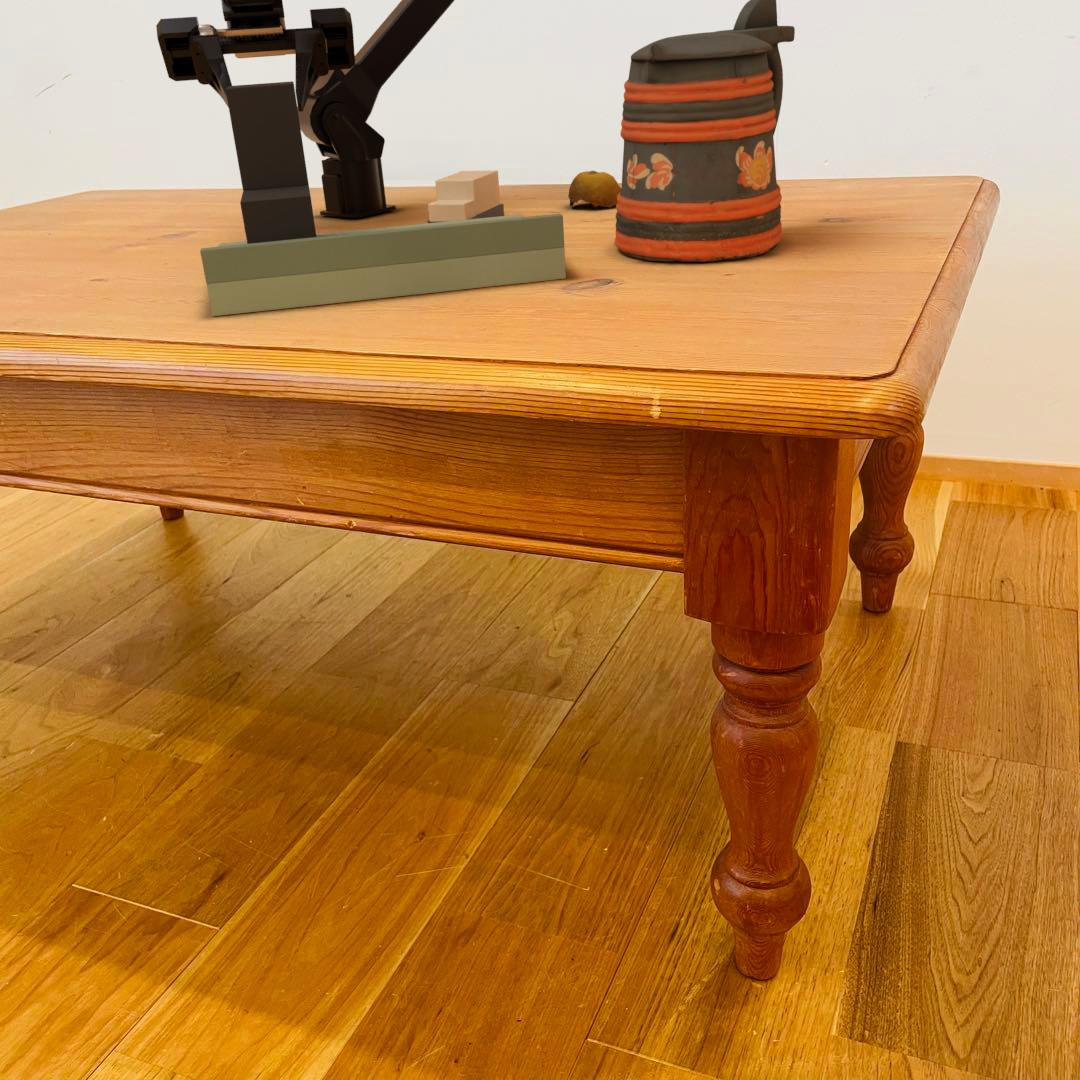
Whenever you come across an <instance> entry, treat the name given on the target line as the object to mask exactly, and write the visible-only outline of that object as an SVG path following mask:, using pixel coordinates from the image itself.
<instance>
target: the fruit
mask: <svg viewBox="0 0 1080 1080" xmlns="http://www.w3.org/2000/svg"><path fill="white" fill-rule="evenodd" d="M621 188H622V186H621V185H619V184H618V181H617V180H616V179H615V177H614V176H613V175H611V174H610V173H608V172H605V171H601V172H599V171H596V170H588V171H587V170H586V171H581V172H579V173H578V174H577V175H576V176H574V178H573V179H572V181H571V183H570V186H569V189H568V195H567V196H568V200H569V206H570V207H573V206H574V204H579V203H578V202H580V201H583V202H585V203H591V205H592V206H593V207H595V208H597V207H599V206H600V207H603V208H612V207H614V206H616V205H617V202H618V201H617V195H618V194H619V193H620V192H621Z"/></svg>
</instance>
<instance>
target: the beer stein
mask: <svg viewBox="0 0 1080 1080" xmlns="http://www.w3.org/2000/svg"><path fill="white" fill-rule="evenodd" d="M777 7H778V6H777V0H749V1H747V2H745V3H744V5H743V7H742V9H741V10H740V12H739V14H738V16H737V18H736V19H735V23H734V26H733V28H732V29H725V30H717V31H710V32H709V31H707V32H698V33H689V34H680V35H675V36H669V37H663V38H661V39H658V40H655V41H653V42H650V43H649V44H647V45H645V46H643V47H641V48H639V49H637V50H636V51H634V52H633V53H632V54H631V55H630V66H629V72H628V78H627V80H626V81H625V82H624V84H623V88H624V93H623V99H624V100H623V103H622V119H621V121H620V126H621V129H620V134H619V135H620V137H621V138H622V140H623V152H622V153H623V154H622V168H621V169H622V170H621V171H622V172H621V192H620V193H619V194H618V195H617V201H618V202H617V205H615V207H616V213H615V220H616V221H615V238H614V246H615V247H616V248H617V249H618V251H620V252H621V253H622V254H624V255H625V256H628V257H630V258H634V259H639V260H645V261H654V262H667V263H668V262H683V263H685V262H686V263H687V262H689V263H690V262H693V263H695V262H696V263H697V262H700V263H705V262H717V261H723V260H724V261H725V260H739V259H742V258H751V257H755V256H757V255H763V254H765V253H768V252H770V250H771V249H772V248H774V247H775V246H777V245H778V244H779V243H780V241H781V240H782V237H783V230H782V226H783V225H782V222H781V219H782V214H781V213H782V206H781V203H782V198H783V196H782V193H781V186H780V185H779V184H778V182H777V171H776V170H777V169H776V155H775V154H776V153H775V141H774V135H775V132H776V129H777V125H778V121H779V117H780V114H781V107H782V102H783V93H784V91H783V90H784V73H783V72H784V71H783V65H782V64H783V63H782V59H781V54H780V49H779V44H780V43H791V42H794V40H795V34H796V30H795V29H796V28H795V26H793V25H778V12H777V11H778V10H777Z"/></svg>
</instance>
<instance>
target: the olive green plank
mask: <svg viewBox="0 0 1080 1080" xmlns="http://www.w3.org/2000/svg"><path fill="white" fill-rule="evenodd" d="M564 230H565V228H564V215H563V214H562V213H552V214H550V213H549V214H540V215H529V216H523V215H522V214H521V213H520V214H509V215H504V216H499V217H488V218H478V219H468V220H457V221H447V222H437V223H427V222H426V223H418V224H416V223H415V224H408V225H407V224H406V225H398V226H397V225H396V226H387V227H386V226H385V227H377V228H376V227H374V228H365V229H355V230H346V231H345V230H344V231H335V232H333V231H332V232H324V233H323V232H322V233H316V237H313V238H302V239H292V240H282V241H271V242H261V243H251V244H247V240H242V241H241V240H240V241H232V242H231V241H230V242H220V243H219V244H218V246H212V247H211V246H210V247H202V248H200V251H199V253H200V257H201V264H202V268H203V272H204V273H203V274H204V277H205V278H204V279H205V283H206V288H207V293H208V299H209V303H210V304H209V305H210V309H211V314H212V317H219V316H221V317H222V316H229V315H236V314H237V315H238V314H239V315H240V314H247V313H256V312H265V311H266V312H267V311H276V310H285V309H294V308H305V307H313V306H324V305H331V304H340V303H350V302H360V301H369V300H377V299H378V300H379V299H386V298H387V299H388V298H397V297H406V296H416V295H424V294H425V295H426V294H434V293H443V292H452V291H453V292H454V291H460V290H461V291H463V290H470V289H471V290H472V289H480V288H489V287H498V286H506V285H507V286H508V285H518V284H526V283H535V282H536V283H537V282H545V281H555V280H563V279H564V280H566V279H567V273H566V270H567V269H566V252H565V251H566V250H565V231H564Z"/></svg>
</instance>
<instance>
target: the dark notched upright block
mask: <svg viewBox="0 0 1080 1080" xmlns="http://www.w3.org/2000/svg"><path fill="white" fill-rule="evenodd" d="M226 95H227V101H228V106H229V108H228V112H229V117H230V123H231V129H232V130H231V131H232V134H233V140H234V146H235V152H236V157H237V164H238V170H239V175H240V181H241V182H240V183H241V187H242V194H241V198H240V202H239V203H240V209H241V215H242V220H243V221H242V222H243V226H244V232H245V238H246V241H247V244H251V243H261V242H271V241H282V240H292V239H302V238H313V237H316V234H317V231H316V224H315V217H314V210H313V204H312V196H311V191H310V185H309V179H308V178H309V177H308V171H307V164H306V159H305V158H306V156H305V150H304V144H303V138H302V137H303V136H302V131H301V129H300V122H299V116H298V109H297V107H298V105H297V98H296V87H295V83H294V81H283V82H282V81H280V82H265V83H253V84H239V85H232V86H228V87H227V88H226ZM228 106H227V107H228Z"/></svg>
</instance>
